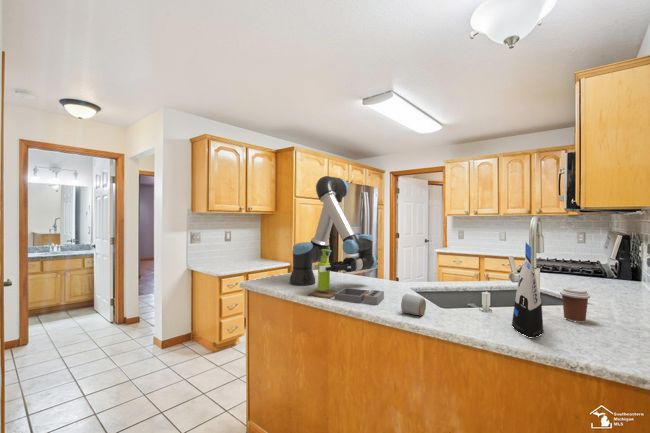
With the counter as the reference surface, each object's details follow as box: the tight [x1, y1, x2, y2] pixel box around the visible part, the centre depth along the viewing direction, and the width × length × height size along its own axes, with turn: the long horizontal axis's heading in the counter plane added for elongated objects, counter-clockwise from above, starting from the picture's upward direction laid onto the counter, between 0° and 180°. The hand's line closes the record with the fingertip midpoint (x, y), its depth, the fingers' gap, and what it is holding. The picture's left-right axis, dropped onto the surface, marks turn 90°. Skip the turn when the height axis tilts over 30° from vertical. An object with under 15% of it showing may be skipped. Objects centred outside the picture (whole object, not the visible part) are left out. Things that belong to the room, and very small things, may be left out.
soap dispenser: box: [317, 249, 333, 290], centre depth 153 cm, size 6×7×20 cm
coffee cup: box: [559, 286, 591, 323], centre depth 118 cm, size 9×9×12 cm
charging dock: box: [334, 287, 385, 306], centre depth 146 cm, size 13×20×4 cm, turn 64°
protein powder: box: [511, 242, 544, 338], centre depth 110 cm, size 10×24×30 cm, turn 150°
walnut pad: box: [307, 288, 339, 300], centre depth 154 cm, size 12×12×1 cm
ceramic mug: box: [400, 293, 427, 317], centre depth 126 cm, size 11×8×8 cm
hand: (315, 268), depth 151 cm, fingers closed on soap dispenser, 6 cm apart
